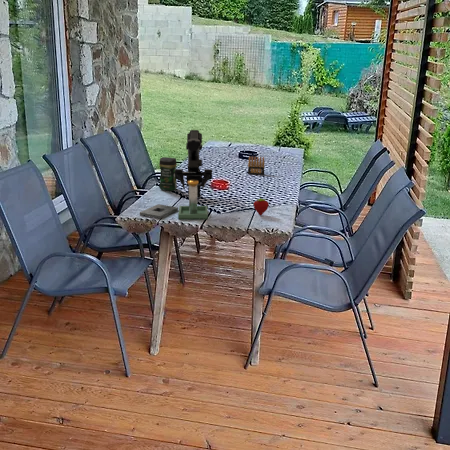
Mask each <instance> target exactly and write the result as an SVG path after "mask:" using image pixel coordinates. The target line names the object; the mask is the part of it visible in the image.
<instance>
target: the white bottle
mask: <svg viewBox="0 0 450 450" xmlns="http://www.w3.org/2000/svg"><path fill="white" fill-rule="evenodd" d="M188 184H189V197H188V206H189V214H197V206H198V198H197V184H199V181H198V180H189V181H188Z"/></svg>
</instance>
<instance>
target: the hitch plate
mask: <svg viewBox="0 0 450 450" xmlns="http://www.w3.org/2000/svg"><path fill="white" fill-rule="evenodd" d="M177 212H179V207H177V206H170V205H165V204H160V203H159V204H155V205H153V206H151V207H149V208H146V209H144V210H141V211H139V216H141V215H145V216H144V217H146V216H150V217H149V218H152V217H154V218H153V219H157V218H159V219H158V220H161V219H163V218H166V217H167V216H170V215H172V214H173V213H177Z"/></svg>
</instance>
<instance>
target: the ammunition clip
mask: <svg viewBox="0 0 450 450" xmlns="http://www.w3.org/2000/svg"><path fill="white" fill-rule="evenodd" d="M247 162H248V163H247V165H248V166H247V175H254V176H255V175H256V176H265V164H266V163H265V156H262V155H261V156H260V157H259V156H257V157H256V155H254V156H253V155H252V156H250V155H249V157H248V161H247Z"/></svg>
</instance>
